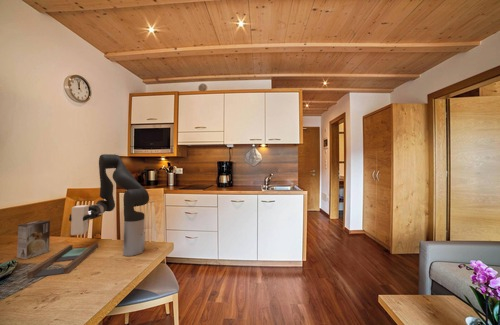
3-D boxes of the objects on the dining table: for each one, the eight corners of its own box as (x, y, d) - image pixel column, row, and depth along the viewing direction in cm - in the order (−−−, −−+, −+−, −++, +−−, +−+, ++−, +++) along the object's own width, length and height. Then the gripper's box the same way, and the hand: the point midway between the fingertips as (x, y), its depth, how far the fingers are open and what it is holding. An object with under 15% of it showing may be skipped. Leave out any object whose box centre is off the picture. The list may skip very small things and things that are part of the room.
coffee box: (40, 250, 101) (41, 219, 102) (49, 251, 100) (50, 220, 100) (16, 258, 92) (17, 224, 93) (25, 259, 91) (27, 225, 91)
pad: (94, 247, 105) (94, 246, 105) (85, 255, 96) (85, 254, 96) (72, 249, 102) (72, 248, 102) (61, 257, 93) (61, 256, 93)
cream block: (87, 231, 103) (88, 205, 103) (82, 234, 98) (83, 207, 98) (76, 231, 101) (77, 205, 102) (70, 235, 97) (71, 207, 97)
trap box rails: (98, 247, 106) (98, 242, 106) (68, 273, 80) (68, 267, 80) (68, 249, 102) (68, 245, 102) (27, 278, 76) (27, 271, 76)
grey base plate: (84, 255, 96) (84, 254, 96) (63, 273, 80) (63, 272, 80) (60, 258, 93) (60, 257, 93) (32, 277, 77) (32, 276, 77)
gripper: (79, 205, 111) (59, 212, 95) (107, 204, 116) (94, 211, 99) (78, 218, 111) (59, 227, 95) (107, 216, 116) (93, 225, 99)
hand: (77, 219), depth 97 cm, fingers closed on cream block, 5 cm apart
